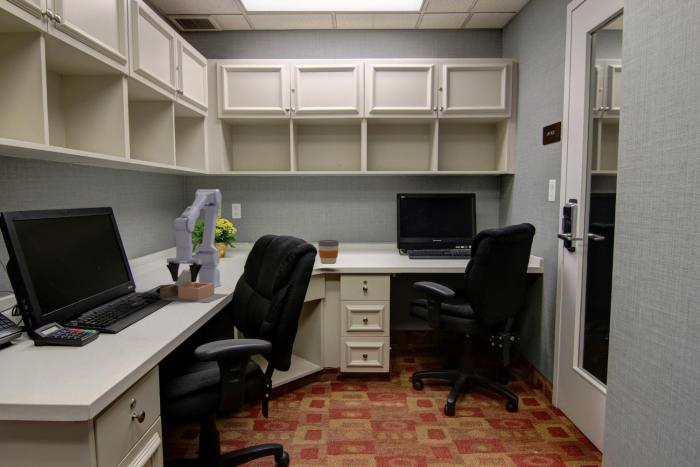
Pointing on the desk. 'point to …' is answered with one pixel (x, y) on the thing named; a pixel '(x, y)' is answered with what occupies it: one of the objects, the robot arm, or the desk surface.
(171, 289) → the end wall
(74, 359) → the desk surface
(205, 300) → the mat
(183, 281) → the eye dropper bottle
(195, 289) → the socket block
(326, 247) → the reusable coffee cup
